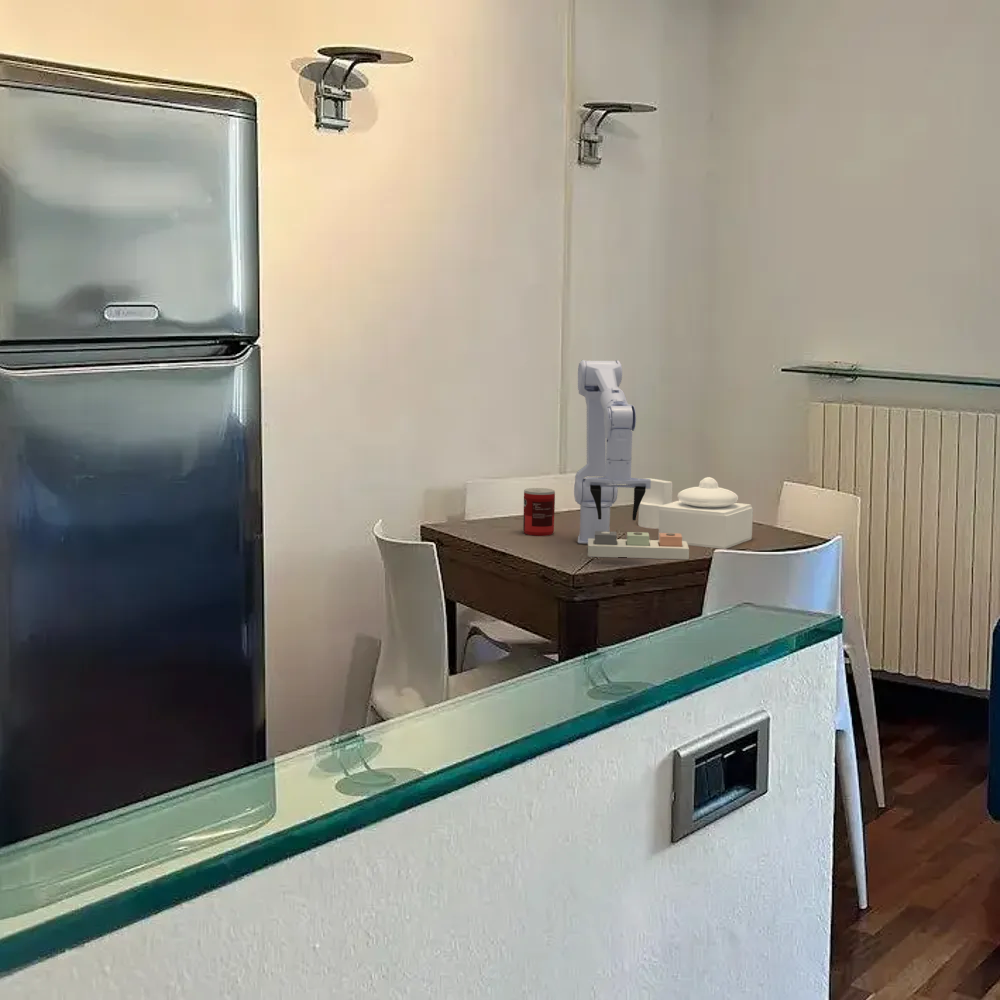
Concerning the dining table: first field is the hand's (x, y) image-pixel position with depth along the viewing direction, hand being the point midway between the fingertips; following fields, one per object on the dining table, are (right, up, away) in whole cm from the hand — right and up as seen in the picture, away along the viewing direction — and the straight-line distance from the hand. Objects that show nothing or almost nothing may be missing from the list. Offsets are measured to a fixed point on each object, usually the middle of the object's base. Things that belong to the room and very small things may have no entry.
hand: (616, 519), depth 307 cm
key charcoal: (-2, -7, +11) cm, 13 cm away
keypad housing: (+6, -8, +10) cm, 14 cm away
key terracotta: (+13, -7, +10) cm, 18 cm away
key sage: (+6, -7, +10) cm, 13 cm away
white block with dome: (+24, -6, +31) cm, 40 cm away
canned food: (-17, -4, +37) cm, 40 cm away
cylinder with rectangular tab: (+15, -3, +51) cm, 53 cm away
